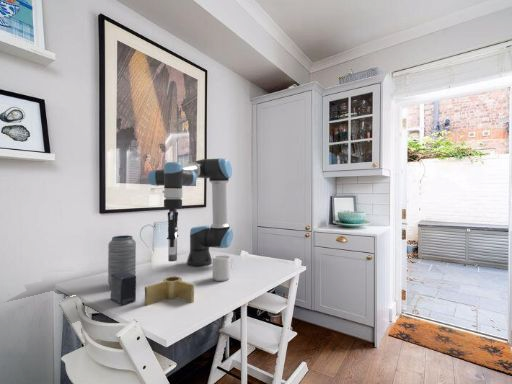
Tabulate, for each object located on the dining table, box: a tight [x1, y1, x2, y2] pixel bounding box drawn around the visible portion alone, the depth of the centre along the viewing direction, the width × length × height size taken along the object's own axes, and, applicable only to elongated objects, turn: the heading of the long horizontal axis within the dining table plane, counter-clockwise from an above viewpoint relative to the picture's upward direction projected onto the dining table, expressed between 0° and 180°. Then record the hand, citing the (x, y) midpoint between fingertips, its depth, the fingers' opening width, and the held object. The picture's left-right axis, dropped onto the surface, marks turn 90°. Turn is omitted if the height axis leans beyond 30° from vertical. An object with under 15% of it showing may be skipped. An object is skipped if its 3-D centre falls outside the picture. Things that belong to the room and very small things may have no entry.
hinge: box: [144, 275, 195, 306], centre depth 113 cm, size 13×19×7 cm
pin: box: [167, 226, 179, 262], centre depth 115 cm, size 4×4×14 cm
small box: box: [109, 271, 137, 307], centre depth 110 cm, size 11×6×10 cm, turn 48°
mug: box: [212, 254, 234, 282], centre depth 139 cm, size 12×9×11 cm
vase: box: [107, 234, 137, 286], centre depth 128 cm, size 12×12×23 cm
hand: (172, 253), depth 115 cm, fingers closed on pin, 3 cm apart
